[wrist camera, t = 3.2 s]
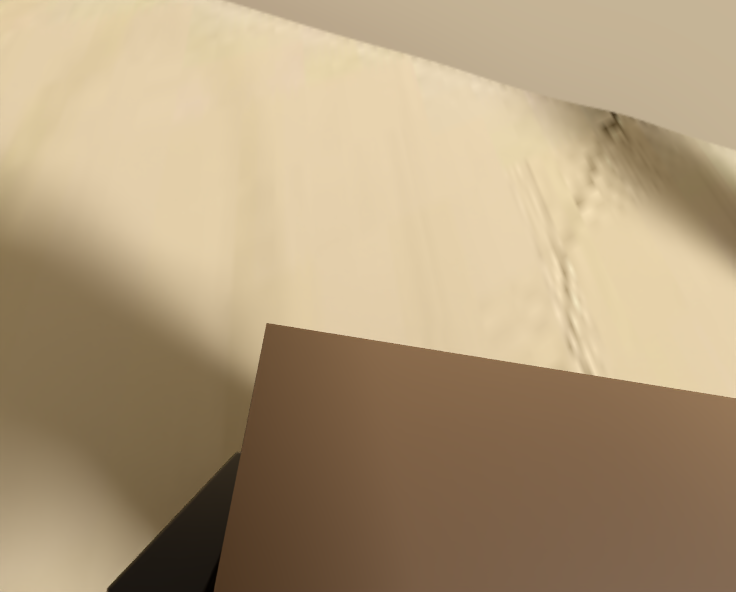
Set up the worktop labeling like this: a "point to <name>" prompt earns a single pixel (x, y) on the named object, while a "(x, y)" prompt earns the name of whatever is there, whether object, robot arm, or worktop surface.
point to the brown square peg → (473, 477)
